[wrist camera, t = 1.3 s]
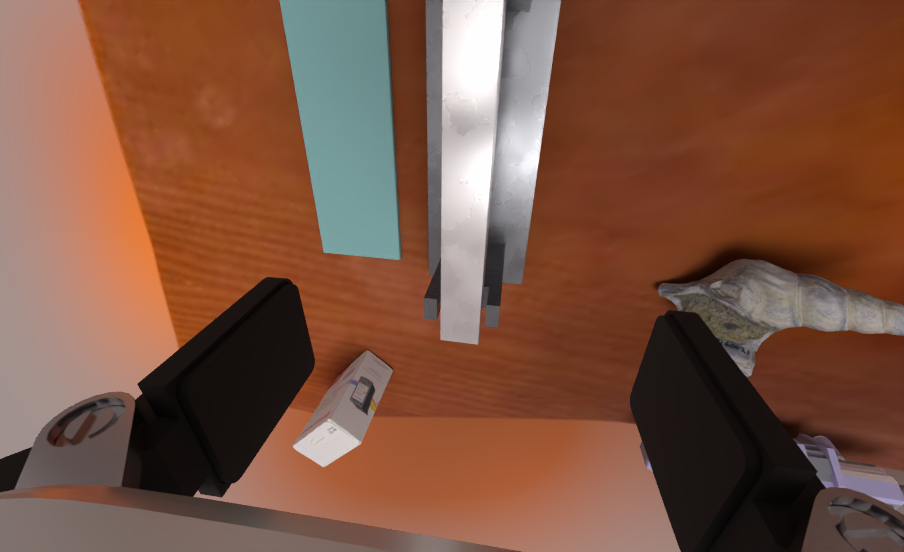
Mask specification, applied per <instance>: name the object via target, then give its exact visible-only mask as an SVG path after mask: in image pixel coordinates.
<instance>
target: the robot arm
mask: <svg viewBox="0 0 904 552" xmlns="http://www.w3.org/2000/svg"><path fill="white" fill-rule="evenodd" d="M314 364H315V358H314V354H313V350H312V345H311V341H310V337H309V333H308V328H307V324H306V320H305V316H304V311H303V307H302V303H301V299H300V295H299V290H298V287H297V286H296V285H294V284H293V283H292V282H291V280H289V279H285V278H273V277H267V278H265V279H263V280H262V281H261V282H260V283H258V284H257V285H256V286H255V287H254V288H252V289H251V290H250V291H249V292H248V293H246V294H245V295H244V296H243V297H242V298H240V299H239V300H238V301H237V302H236V303H234V304H233V305H232V306H231V307H229V308H228V309H227V310H226V311H225V312H223V313H222V314H221V315H220V316H219V317H217V318H216V319H215V320H214V321H213V322H211V323H210V324H209V325H208V326H207V327H205V328H204V329H203V330H202V331H201V332H199V333H198V334H197V335H196V336H195V337H193V338H192V339H191V340H190V341H189V342H187V343H186V344H185V345H184V346H183V347H181V348H180V349H179V350H178V351H176V352H175V353H174V354H173V355H172V356H170V357H169V358H168V359H167V360H166V361H165V362H163V363H162V364H161V365H160V366H158V367H157V368H156V369H155V370H154V371H152V372H151V373H150V374H149V375H148V376H146V377H145V378H144V379H143V380H142V381H140V382H139V383H138V386H139V388H140V390H141V391H142V393H143V394H142V395H140V396H139V397H138V398H137V399H136V400H135V399H134V398H133V396H131V395H130V394H129V393H124V392H109V393H104V394H100V395H96V396H93V397H90V398H88V399H85V400H83V401H80V402H79V403H76V404H75V405H73V406H71V407H69V408H67V409H65V410H64V411H63V412H61V413H60V414H58V415H57V416H55V417H54V418H53V419H52V420H51V421H49V423H47V424H46V425H45V426H44V427H43V429H42V430H41V431H40V433H39V434H38V436H37V437H36V440H35V442H34V445H33V447H31V448H28V449H25V450H23V451H21V452H18V453H15V454H12V455H10V456H7V457H4V458H2V459H0V552H520V551H514V550H508V549H503V548H497V547H492V546H486V545H480V544H474V543H468V542H462V541H456V540H450V539H444V538H439V537H433V536H427V535H421V534H415V533H409V532H403V531H398V530H392V529H385V528H380V527H374V526H368V525H362V524H356V523H350V522H344V521H338V520H332V519H326V518H320V517H314V516H308V515H302V514H295V513H289V512H283V511H277V510H271V509H265V508H259V507H253V506H246V505H241V504H234V503H228V502H222V501H216V500H210V499H204V498H197V497H193V496H194V495H195V493H196V492H197V491H198V490H199V492H200V494H205V495H211V496H217V497H222V496H223V495H224V494H225V492H226V491H227V489H228V488H229V487H230V485H231V484H232V483H235V482H237V481H238V480H239V479H240V478H241V477H242V475H243V474H244V472H245V471H246V469H247V468H248V466H249V465H250V463H251V462H252V460H253V459H254V457H255V456H256V454H257V453H258V452H259V450H260V448H261V447H262V446H263V444H264V443H265V441H266V440H267V438H268V437H269V435H270V434H271V432H272V431H273V429H274V428H275V426H276V425H277V423H278V422H279V420H280V419H281V417H282V416H283V414H284V413H285V411H286V410H287V408H288V407H289V405H290V404H291V402H292V401H293V399H294V398H295V396H296V395H297V393H298V392H299V391H300V389H301V388H302V386H303V385H304V383H305V382H306V380H307V379H308V377H309V376H310V374H311V373H312V371H313V368H314ZM630 406H631V410H632V413H633V416H634V419H635V422H636V424H637V427H638V430H639V433H640V436H641V439H642V442H643V445H644V448H645V451H646V453H647V456H648V459H649V462H650V465H651V468H652V471H653V474H654V476H655V479H656V482H657V485H658V488H659V490H660V494H661V497H662V500H663V503H664V505H665V508H666V511H667V514H668V517H669V520H670V522H671V526H672V528H673V531H674V534H675V537H676V540H677V543H678V545H679V548H680V550H681V552H904V515H903V514H901V513H900V512H898V511H897V510H895V509H893V508H892V507H890V506H889V505H887V504H885V503H884V502H882V501H880V500H877V499H875V498H873V497H871V496H869V495H867V494H864V493H861V492H858V491H855V490H851V489H848V488H840V487H829V488H826V487H825V486H824V484H823V483H822V482H821V480H820V479H819V478H818V476H817V475H816V473H817V472H818V471H817V470H816V469H815V467H814V466H813V465H812V463H811V462H810V461H809V459H808V458H807V457H806V455H805V454H804V453H803V451H802V450H801V449H800V447H799V446H798V445H797V443H796V442H795V441H794V440H793V438H792V437H791V436H790V434H789V433H788V432H787V430H786V429H785V428H784V426H783V425H782V424H781V422H780V421H779V420H778V418H777V417H776V416H775V414H774V413H773V412H772V410H771V409H770V408H769V407H768V405H767V404H766V403H765V401H764V400H763V399H762V397H761V396H760V395H759V393H758V392H757V391H756V389H755V388H754V387H753V385H752V384H751V383H750V381H749V380H748V379H747V378H746V376H745V375H744V374H743V372H742V371H741V370H740V368H739V367H738V366H737V364H736V363H735V362H734V360H733V359H732V358H731V356H730V355H729V354H728V352H727V351H726V350H725V348H724V347H723V346H722V345H721V343H720V342H719V341H718V339H717V338H716V337H715V335H714V334H713V333H712V331H711V330H710V329H709V327H708V326H707V325H706V323H705V322H704V321H703V319H702V318H701V317H700V316H699V315H698V314H697V313H695V312H685V311H672V310H670V311H667V312H666V314H665V315H664V316H659V317H658V318H657V320H656V322H655V325H654V328H653V331H652V334H651V337H650V340H649V342H648V345H647V348H646V351H645V354H644V357H643V360H642V363H641V366H640V369H639V372H638V374H637V377H636V380H635V383H634V386H633V389H632V392H631V396H630Z"/></svg>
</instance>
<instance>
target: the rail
mask: <svg viewBox="0 0 904 552" xmlns="http://www.w3.org/2000/svg"><path fill="white" fill-rule="evenodd" d="M506 1H507V0H443V49H442V196H441V340H447V341H455V342H463V343H470V344H478V341H479V334H480V328H481V322H482V309H483V296H484V283H485V271H486V258H487V245H488V232H489V219H490V207H491V194H492V181H493V168H494V155H495V142H496V130H497V117H498V104H499V91H500V78H501V65H502V53H503V40H504V27H505V14H506Z"/></svg>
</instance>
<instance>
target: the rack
mask: <svg viewBox="0 0 904 552" xmlns="http://www.w3.org/2000/svg"><path fill="white" fill-rule="evenodd" d="M560 3H561V0H507V1H506V14H505V27H504V40H503V53H502V65H501V78H500V91H499V104H498V117H497V130H496V142H495V155H494V168H493V181H492V194H491V207H490V219H489V232H488V245H487V258H486V271H485V283H484V296H483V307H486V318H485V326H489V327H497V328H498V321H499V311H500V301H501V290H502V282H503V283H513V284H522V277H523V270H524V263H525V256H526V249H527V241H528V234H529V227H530V220H531V212H532V205H533V198H534V191H535V184H536V176H537V169H538V162H539V155H540V148H541V140H542V133H543V126H544V119H545V111H546V104H547V97H548V90H549V83H550V75H551V68H552V61H553V54H554V47H555V39H556V32H557V25H558V18H559V10H560ZM442 49H443V0H426V70H427V151H428V231H429V275H433V278H432V280H431V283H430V285H429V287H428V290H427V292H426V294H425V297H424V319H430V320H437V318H438V315H439V312H440V309H441V196H442Z"/></svg>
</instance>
